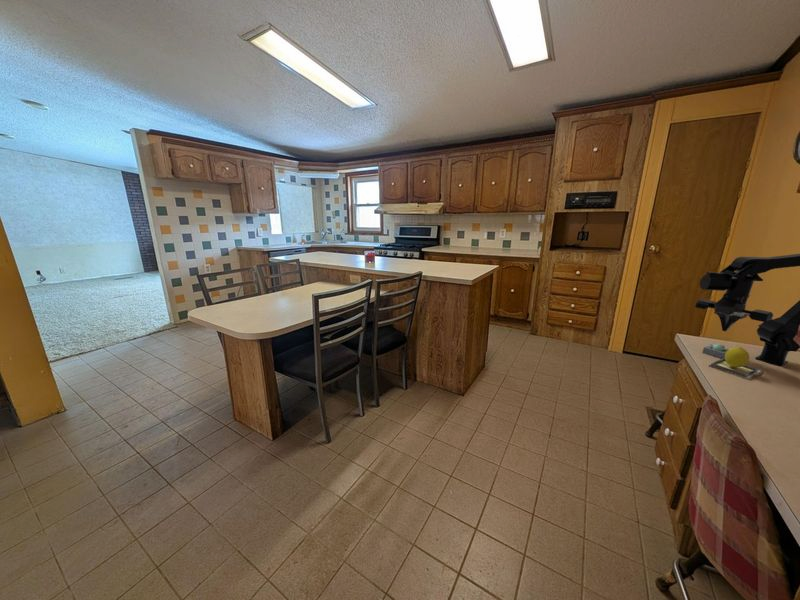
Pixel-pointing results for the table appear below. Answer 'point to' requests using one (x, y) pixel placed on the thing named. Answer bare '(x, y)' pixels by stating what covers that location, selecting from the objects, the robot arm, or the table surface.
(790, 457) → the table surface
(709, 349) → the button housing
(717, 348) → the button
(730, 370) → the grey tray
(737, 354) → the lemon
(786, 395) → the table surface
